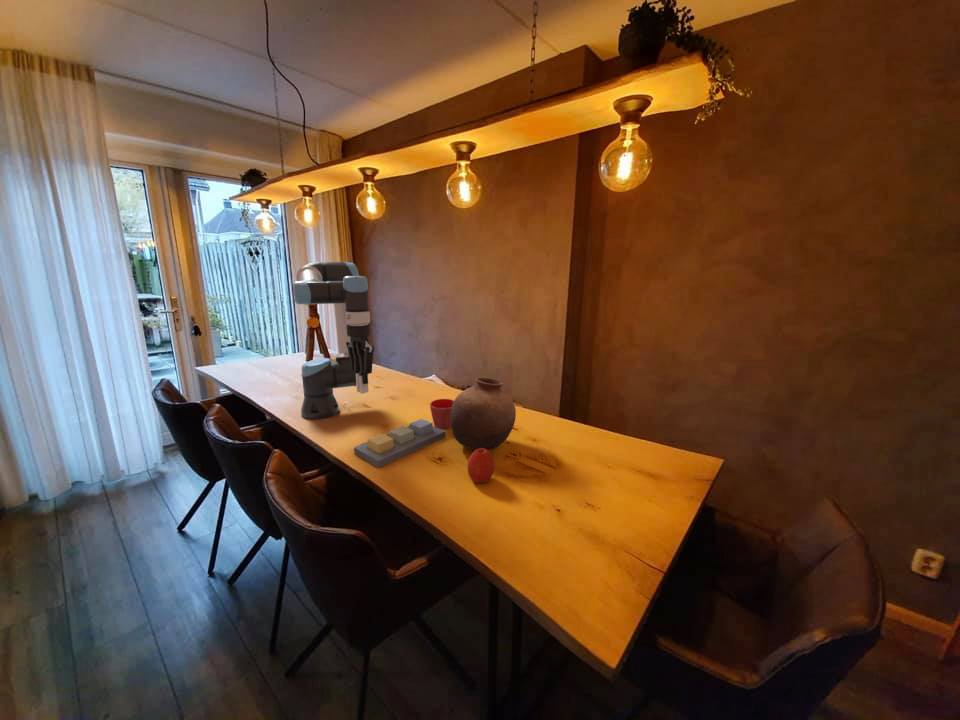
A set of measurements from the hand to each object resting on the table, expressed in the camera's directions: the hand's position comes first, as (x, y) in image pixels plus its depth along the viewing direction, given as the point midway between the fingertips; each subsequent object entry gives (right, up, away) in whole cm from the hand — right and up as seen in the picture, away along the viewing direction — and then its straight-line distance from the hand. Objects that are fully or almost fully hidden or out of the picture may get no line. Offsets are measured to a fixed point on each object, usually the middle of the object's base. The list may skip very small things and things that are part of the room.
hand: (362, 391), depth 131 cm
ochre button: (+7, -19, -1) cm, 20 cm away
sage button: (+12, -18, +6) cm, 22 cm away
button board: (+12, -20, +6) cm, 24 cm away
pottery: (+41, -20, +7) cm, 47 cm away
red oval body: (+41, -26, -16) cm, 51 cm away
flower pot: (+26, -16, +23) cm, 38 cm away
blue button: (+18, -16, +12) cm, 27 cm away
